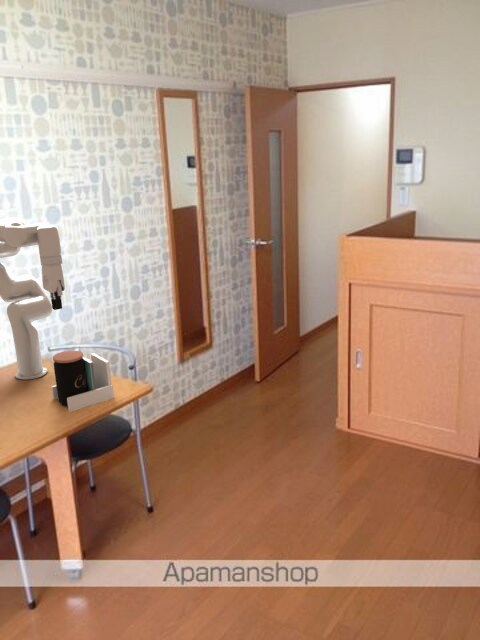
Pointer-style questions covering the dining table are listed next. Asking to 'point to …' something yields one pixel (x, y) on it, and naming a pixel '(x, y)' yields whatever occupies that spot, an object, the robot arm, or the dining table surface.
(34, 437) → the dining table surface
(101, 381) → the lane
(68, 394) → the coffee jar
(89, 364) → the plate
